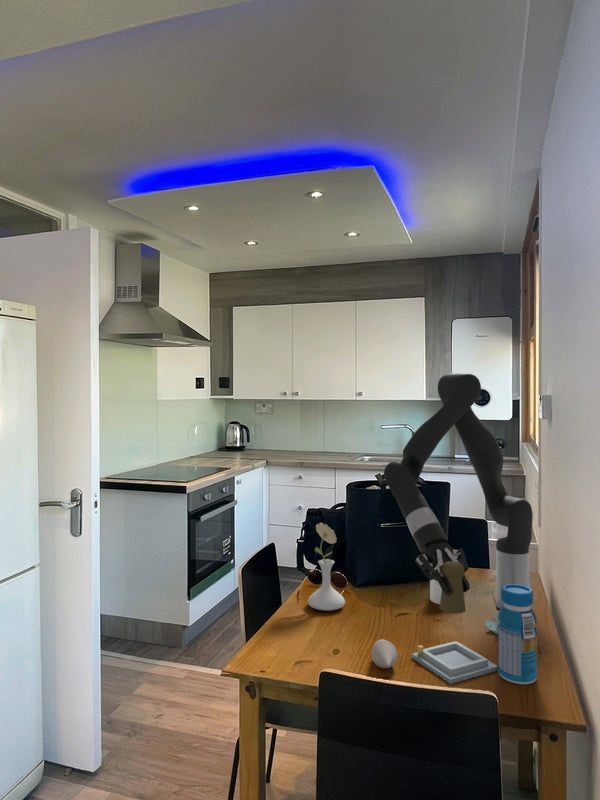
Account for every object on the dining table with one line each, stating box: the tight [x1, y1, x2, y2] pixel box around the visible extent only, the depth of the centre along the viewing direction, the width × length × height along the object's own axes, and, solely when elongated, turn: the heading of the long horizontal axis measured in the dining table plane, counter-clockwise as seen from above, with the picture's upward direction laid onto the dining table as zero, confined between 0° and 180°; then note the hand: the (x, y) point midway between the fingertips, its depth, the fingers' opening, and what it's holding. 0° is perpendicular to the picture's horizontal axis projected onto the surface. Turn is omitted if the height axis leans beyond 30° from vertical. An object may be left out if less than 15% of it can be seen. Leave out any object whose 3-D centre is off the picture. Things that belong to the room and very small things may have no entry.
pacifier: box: [485, 610, 500, 635], centre depth 151 cm, size 7×6×6 cm
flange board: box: [411, 640, 498, 685], centre depth 133 cm, size 14×14×3 cm
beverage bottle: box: [497, 584, 538, 685], centre depth 127 cm, size 8×8×20 cm
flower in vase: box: [307, 522, 346, 612], centre depth 170 cm, size 13×11×25 cm
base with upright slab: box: [429, 562, 442, 605], centre depth 175 cm, size 9×9×12 cm
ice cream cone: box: [371, 639, 399, 669], centre depth 130 cm, size 6×6×15 cm
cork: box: [439, 561, 467, 614], centre depth 133 cm, size 6×6×11 cm
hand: (458, 591), depth 131 cm, fingers closed on cork, 4 cm apart
